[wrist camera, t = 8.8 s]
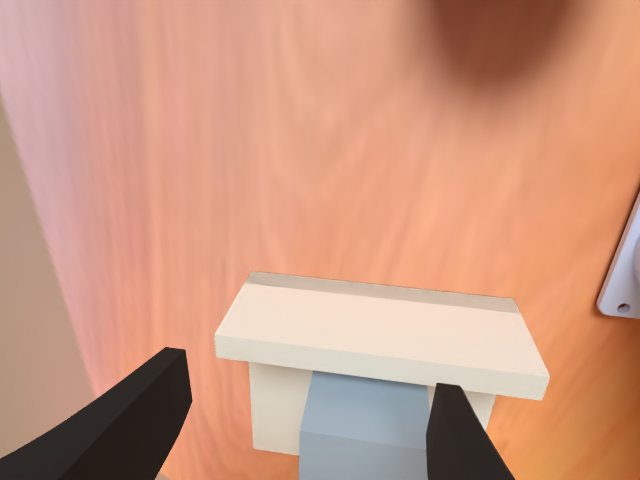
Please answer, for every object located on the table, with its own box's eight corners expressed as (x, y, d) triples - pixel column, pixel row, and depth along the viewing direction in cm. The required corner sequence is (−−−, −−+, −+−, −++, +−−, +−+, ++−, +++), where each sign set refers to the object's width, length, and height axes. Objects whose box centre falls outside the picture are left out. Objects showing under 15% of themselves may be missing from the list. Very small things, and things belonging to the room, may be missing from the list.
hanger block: (422, 344, 21) (433, 451, 15) (405, 441, 24) (409, 558, 19) (322, 331, 21) (299, 430, 16) (317, 428, 24) (297, 538, 19)
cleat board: (513, 299, 20) (550, 377, 16) (466, 464, 26) (483, 558, 21) (251, 270, 22) (214, 334, 17) (258, 432, 27) (231, 514, 22)
